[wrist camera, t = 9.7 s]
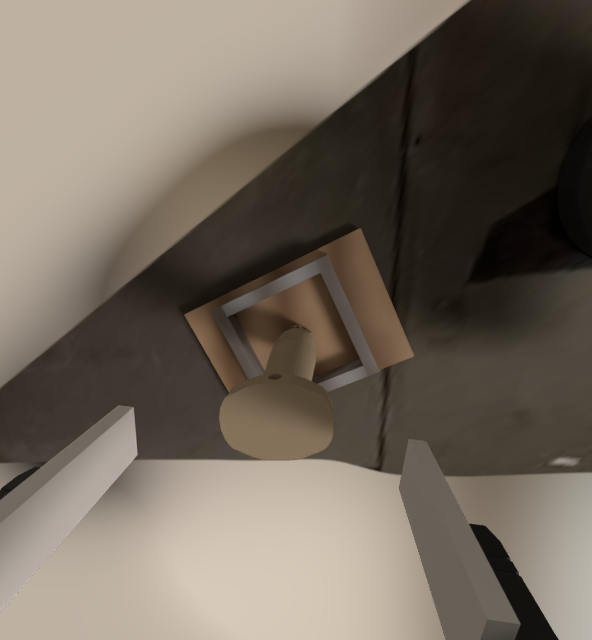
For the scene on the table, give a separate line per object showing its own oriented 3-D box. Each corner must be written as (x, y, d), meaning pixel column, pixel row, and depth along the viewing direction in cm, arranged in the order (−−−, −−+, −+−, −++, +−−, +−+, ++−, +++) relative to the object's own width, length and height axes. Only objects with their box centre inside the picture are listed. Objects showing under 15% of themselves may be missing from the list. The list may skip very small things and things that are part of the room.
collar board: (359, 228, 29) (363, 226, 25) (410, 352, 31) (420, 364, 28) (189, 312, 32) (174, 319, 29) (248, 415, 35) (241, 432, 32)
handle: (265, 317, 30) (214, 384, 16) (328, 314, 30) (333, 382, 15) (269, 360, 32) (224, 459, 17) (329, 359, 31) (335, 461, 17)
